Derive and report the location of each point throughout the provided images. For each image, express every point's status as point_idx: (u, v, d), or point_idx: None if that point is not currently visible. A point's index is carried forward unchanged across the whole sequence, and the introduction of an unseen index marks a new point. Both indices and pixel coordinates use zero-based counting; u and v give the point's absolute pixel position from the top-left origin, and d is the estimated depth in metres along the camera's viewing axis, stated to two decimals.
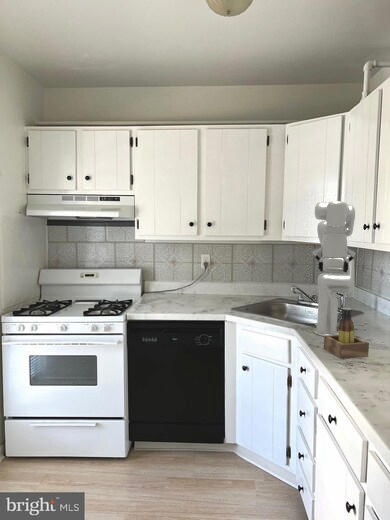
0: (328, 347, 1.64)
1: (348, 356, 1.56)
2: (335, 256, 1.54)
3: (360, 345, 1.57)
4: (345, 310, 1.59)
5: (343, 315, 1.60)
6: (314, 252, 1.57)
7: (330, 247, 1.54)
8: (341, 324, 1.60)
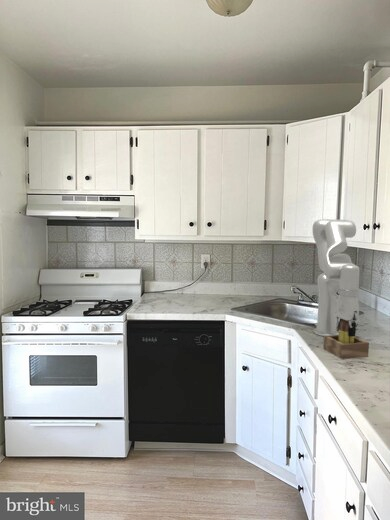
0: (328, 347, 1.64)
1: (348, 356, 1.56)
2: None
3: (360, 345, 1.57)
4: None
5: None
6: None
7: None
8: (341, 324, 1.60)
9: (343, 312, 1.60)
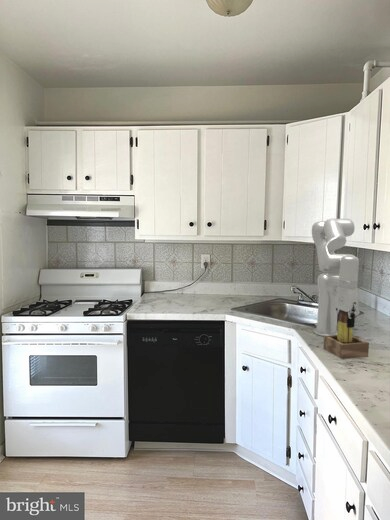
0: (328, 347, 1.64)
1: (348, 356, 1.56)
2: None
3: (360, 345, 1.57)
4: None
5: None
6: None
7: None
8: (340, 315, 1.60)
9: (342, 303, 1.59)
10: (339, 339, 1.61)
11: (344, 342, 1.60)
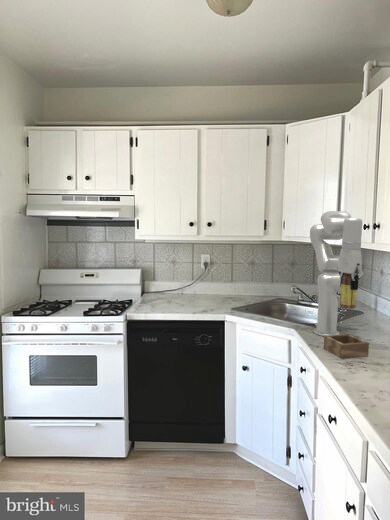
0: (328, 347, 1.64)
1: (348, 356, 1.56)
2: None
3: (360, 345, 1.57)
4: None
5: None
6: None
7: None
8: (343, 278, 1.58)
9: (345, 265, 1.58)
10: (342, 302, 1.60)
11: (347, 305, 1.58)
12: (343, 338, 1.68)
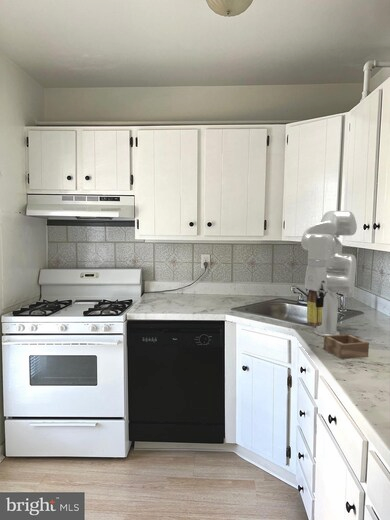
0: (328, 347, 1.64)
1: (348, 356, 1.56)
2: None
3: (360, 345, 1.57)
4: None
5: None
6: None
7: None
8: (309, 295, 1.57)
9: (311, 282, 1.56)
10: (308, 319, 1.58)
11: (313, 322, 1.57)
12: (343, 338, 1.68)
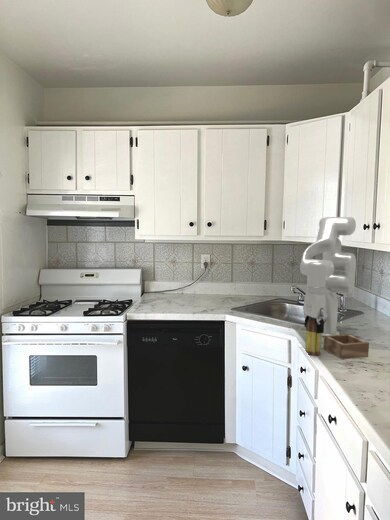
0: (328, 347, 1.64)
1: (348, 356, 1.56)
2: None
3: (360, 345, 1.57)
4: None
5: None
6: None
7: None
8: (308, 324, 1.59)
9: (310, 309, 1.58)
10: (307, 348, 1.60)
11: (312, 351, 1.58)
12: (343, 338, 1.68)
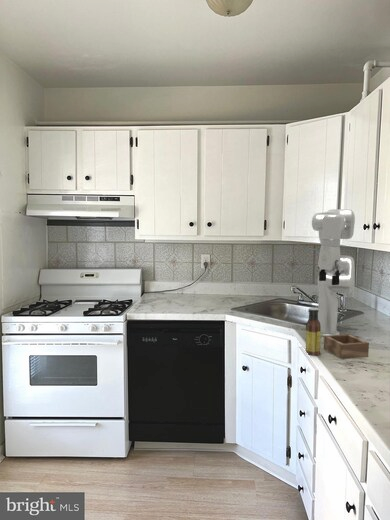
0: (328, 347, 1.64)
1: (348, 356, 1.56)
2: None
3: (360, 345, 1.57)
4: (311, 310, 1.58)
5: (310, 315, 1.59)
6: None
7: None
8: (308, 324, 1.59)
9: (325, 262, 1.59)
10: (307, 348, 1.60)
11: (312, 352, 1.58)
12: (343, 338, 1.68)
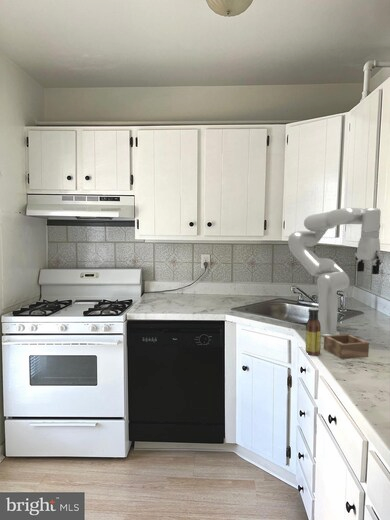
0: (328, 347, 1.64)
1: (348, 356, 1.56)
2: None
3: (360, 345, 1.57)
4: (311, 310, 1.58)
5: (310, 315, 1.59)
6: None
7: None
8: (308, 324, 1.59)
9: (364, 253, 1.68)
10: (307, 348, 1.60)
11: (312, 351, 1.58)
12: (343, 338, 1.68)
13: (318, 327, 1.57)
